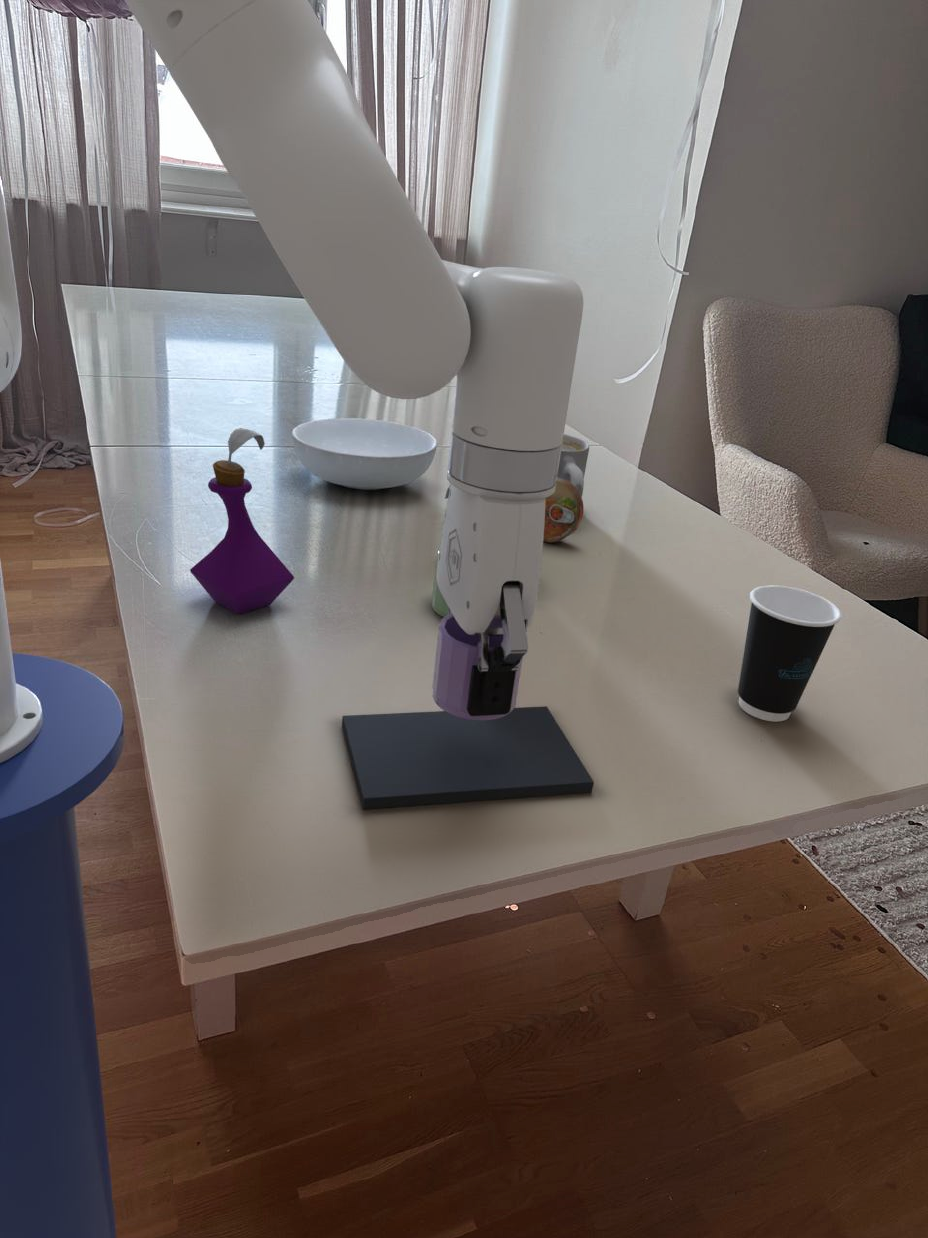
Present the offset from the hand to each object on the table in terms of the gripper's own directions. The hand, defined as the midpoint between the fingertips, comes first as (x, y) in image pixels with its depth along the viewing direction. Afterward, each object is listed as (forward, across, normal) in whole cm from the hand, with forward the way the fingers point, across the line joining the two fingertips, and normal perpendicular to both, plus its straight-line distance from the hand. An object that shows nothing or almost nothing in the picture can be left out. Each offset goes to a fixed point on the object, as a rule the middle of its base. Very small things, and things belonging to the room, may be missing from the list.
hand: (474, 685), depth 69 cm
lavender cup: (+1, 0, 0) cm, 1 cm away
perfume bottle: (+7, -29, -16) cm, 34 cm away
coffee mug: (+7, -58, +28) cm, 65 cm away
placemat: (+7, 0, 0) cm, 7 cm away
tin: (+7, -50, +22) cm, 55 cm away
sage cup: (+7, -27, +7) cm, 29 cm away
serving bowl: (+7, -70, +3) cm, 70 cm away
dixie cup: (+7, -5, +31) cm, 32 cm away
